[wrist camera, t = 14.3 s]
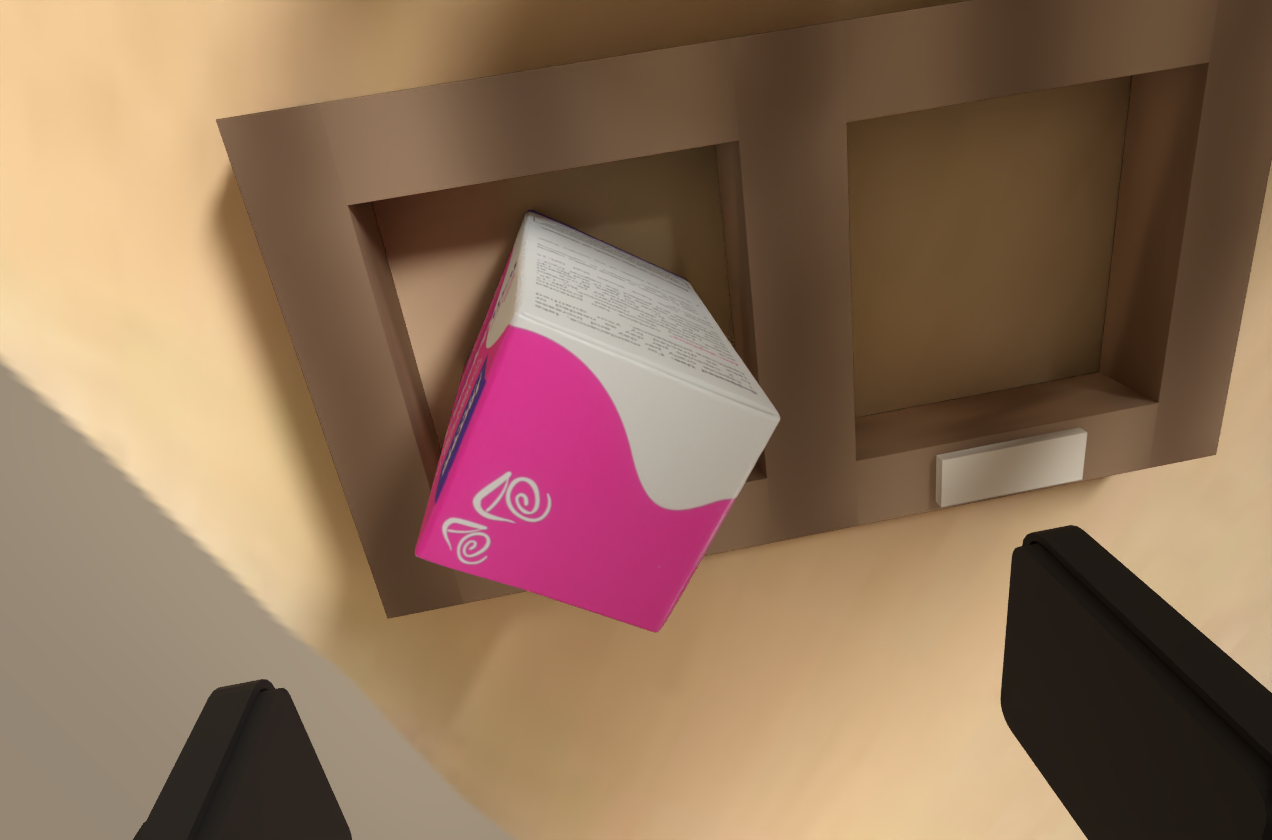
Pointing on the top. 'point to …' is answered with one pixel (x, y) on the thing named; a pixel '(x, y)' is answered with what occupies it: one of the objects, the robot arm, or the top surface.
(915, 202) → the top surface
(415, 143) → the wooden compartment tray
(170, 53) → the top surface
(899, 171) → the top surface
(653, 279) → the supplement box
